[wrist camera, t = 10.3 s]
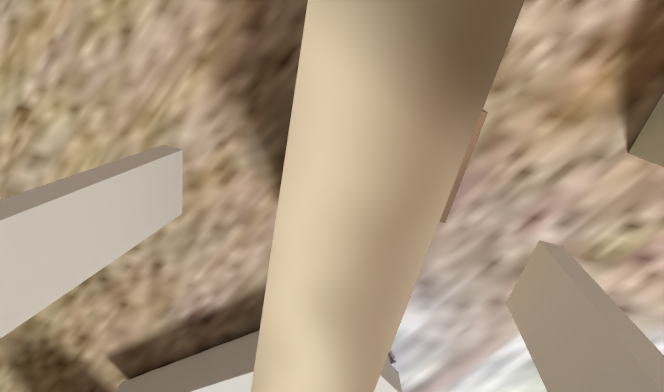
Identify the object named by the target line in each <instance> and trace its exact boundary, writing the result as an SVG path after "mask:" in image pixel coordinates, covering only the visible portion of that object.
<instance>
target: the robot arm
mask: <svg viewBox="0 0 664 392" xmlns="http://www.w3.org/2000/svg"><path fill="white" fill-rule="evenodd" d="M182 159H183V150H182V149H178V148H174V147H170V146H166V145H162V146H159V147H156V148H153V149H150V150H147V151H145V152H142V153H139V154H136V155H133V156H130V157H127V158H124V159H121V160H118V161H115V162H112V163H109V164H106V165H103V166H100V167H97V168H94V169H91V170H88V171H85V172H82V173H79V174H76V175H73V176H70V177H67V178H64V179H61V180H59V181H56V182H53V183H50V184H47V185H44V186H41V187H38V188H35V189H32V190H29V191H26V192H23V193H20V194H17V195H14V196H11V197H8V198H5V199H2V200H0V338H2V337H3V336H5V335H6V334H8V333H9V332H11V331H12V330H14V329H15V328H17V327H18V326H19V325H21V324H22V323H24V322H25V321H27V320H28V319H30V318H31V317H33V316H34V315H35V314H37V313H38V312H40V311H41V310H43V309H44V308H46V307H47V306H49V305H50V304H51V303H53V302H54V301H56V300H57V299H59V298H60V297H62V296H63V295H65V294H66V293H67V292H69V291H70V290H72V289H73V288H75V287H76V286H78V285H79V284H81V283H82V282H83V281H85V280H86V279H88V278H89V277H91V276H92V275H94V274H95V273H97V272H98V271H99V270H101V269H102V268H104V267H105V266H107V265H108V264H110V263H111V262H113V261H114V260H115V259H117V258H118V257H120V256H121V255H123V254H124V253H126V252H127V251H129V250H130V249H131V248H133V247H134V246H136V245H137V244H139V243H140V242H142V241H143V240H145V239H146V238H147V237H149V236H150V235H152V234H153V233H155V232H156V231H158V230H159V229H161V228H162V227H163V226H165V225H166V224H168V223H169V222H171V221H172V220H174V219H175V218H177V217H178V216H179V215H181V214H182ZM506 303H507V306H508V308H509V310H510V312H511V314H512V316H513V318H514V321H515V323H516V325H517V327H518V329H519V331H520V333H521V336H522V338H523V340H524V342H525V344H526V346H527V348H528V351H529V353H530V355H531V357H532V359H533V361H534V363H535V366H536V368H537V370H538V372H539V374H540V376H541V379H542V381H543V383H544V385H545V387H546V389H547V391H548V392H664V355H663V354H662V353H661V352H660V351H659V350H658V349H657V348H656V347H655V346H654V345H653V343H652V342H651V341H650V340H649V339H648V338H647V337H646V336H645V335H644V334H643V333H642V332H641V330H640V329H639V328H638V327H637V326H636V325H635V324H634V323H633V322H632V321H631V320H630V319H629V318H628V316H627V315H626V314H625V313H624V312H623V311H622V310H621V309H620V308H619V307H618V306H617V305H616V304H615V302H614V301H613V300H612V299H611V298H610V297H609V296H608V295H607V294H606V293H605V292H604V291H603V289H602V288H601V287H600V286H599V285H598V284H597V283H596V282H595V281H594V280H593V279H592V278H591V277H590V275H589V274H588V273H587V272H586V271H585V270H584V269H583V268H582V267H581V266H580V265H579V264H578V263H577V261H576V260H575V259H574V258H573V257H572V256H571V255H570V254H569V253H568V252H567V251H566V250H565V248H564V247H563V246H559V245H555V244H551V243H547V242H543V241H539V242H538V244H537V246H536V248H535V249H534V251H533V253H532V255H531V257H530V259H529V261H528V263H527V264H526V266H525V268H524V270H523V272H522V274H521V276H520V278H519V279H518V281H517V283H516V285H515V287H514V289H513V291H512V293H511V294H510V296H509V298H508V300H507V302H506Z"/></svg>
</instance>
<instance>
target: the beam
mask: <svg viewBox="0 0 664 392" xmlns="http://www.w3.org/2000/svg"><path fill="white" fill-rule="evenodd" d="M523 3H524V0H308V3H307V10H306V17H305V24H304V31H303V38H302V44H301V51H300V58H299V65H298V72H297V79H296V85H295V92H294V99H293V106H292V113H291V120H290V126H289V133H288V140H287V147H286V154H285V161H284V167H283V174H282V181H281V188H280V195H279V202H278V208H277V215H276V222H275V229H274V236H273V243H272V249H271V256H270V263H269V270H268V277H267V284H266V290H265V297H264V304H263V311H262V318H261V325H260V331H259V338H258V345H257V352H256V359H255V366H254V372H253V379H252V386H251V392H374V390H375V388H376V385H377V382H378V380H379V377H380V375H381V372H382V369H383V367H384V364H385V362H386V359H387V356H388V354H389V351H390V349H391V346H392V343H393V341H394V338H395V336H396V333H397V330H398V328H399V325H400V323H401V320H402V317H403V315H404V312H405V310H406V307H407V304H408V302H409V299H410V297H411V294H412V291H413V289H414V286H415V284H416V281H417V278H418V276H419V273H420V271H421V268H422V265H423V263H424V260H425V258H426V255H427V252H428V250H429V247H430V245H431V242H432V239H433V237H434V234H435V232H436V229H437V226H438V224H439V221H440V219H441V216H442V213H443V211H444V208H445V206H446V203H447V200H448V198H449V195H450V193H451V190H452V187H453V185H454V182H455V180H456V177H457V174H458V172H459V169H460V167H461V164H462V161H463V159H464V156H465V154H466V151H467V148H468V146H469V143H470V141H471V138H472V135H473V133H474V130H475V128H476V125H477V122H478V120H479V117H480V115H481V112H482V109H483V107H484V104H485V102H486V99H487V96H488V94H489V91H490V88H491V86H492V83H493V81H494V78H495V75H496V73H497V70H498V68H499V65H500V62H501V60H502V57H503V55H504V52H505V49H506V47H507V44H508V42H509V39H510V36H511V34H512V31H513V29H514V26H515V23H516V21H517V18H518V16H519V13H520V10H521V8H522V5H523Z"/></svg>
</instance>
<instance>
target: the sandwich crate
mask: <svg viewBox="0 0 664 392" xmlns="http://www.w3.org/2000/svg"><path fill="white" fill-rule="evenodd" d="M628 153H629V154H632V155H634V156H637V157H639V158H642V159H645V160H647V161H650V162H652V163H655V164H658V165H660V166H663V167H664V93H663V95H662V96H661V98H660V100H659V101H658V103H657V105H656V106H655V108H654V110H653V112H652V113H651V115H650V117H649V118H648V120H647V122H646V123H645V125H644V127H643V128H642V130H641V132H640V133H639V135H638V137H637V139H636V140H635V142H634V144H633V145H632V147H631V149H630V150H629V152H628Z"/></svg>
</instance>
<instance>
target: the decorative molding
mask: <svg viewBox="0 0 664 392" xmlns="http://www.w3.org/2000/svg"><path fill="white" fill-rule="evenodd" d="M259 331H260V330H259ZM259 331H256V332H253V333H251V334H248V335H245V336H243V337H240V338H238V339H235V340H233V341H230V342H227V343H224V344H221V345H218V346H215V347H213V348H211V349H208V350H206V351H203V352H201V353H198V354H196V355H193V356H190V357H187V358H185V359H182V360H179V361H177V362H174V363H172V364H169V365H167V366H164V367H161V368H158V369H155V370H152V371H150V372H147V373H145V374H142V375H140V376H138V377H135V378H132V379H129V380H127V381H124V382H122V383H121V384H120V386H119V387H118V389H117V391H116V392H251V386H252V379H253V372H254V366H255V359H256V352H257V345H258V338H259ZM374 392H402V390H401V384H400V379H399V374H398V371H397V370H396V369H395V368H394V367H393V366H392V365H391V363H390V358H389V356H387V359H386V362H385V364H384V367H383V369H382V372H381V375H380V377H379V380H378V382H377V385H376V388H375V390H374Z"/></svg>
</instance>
